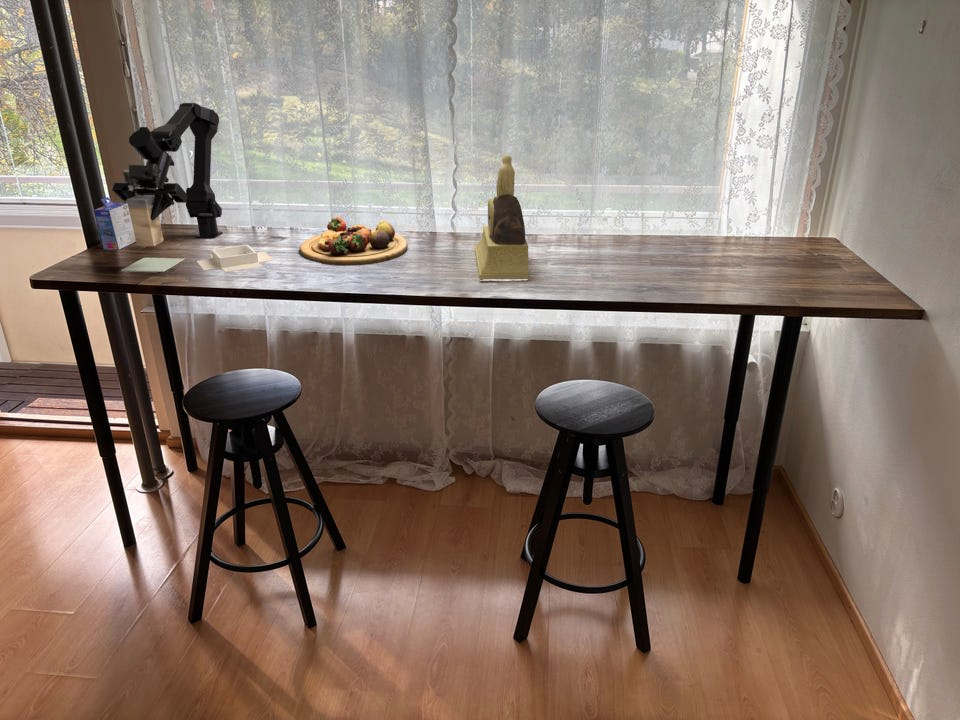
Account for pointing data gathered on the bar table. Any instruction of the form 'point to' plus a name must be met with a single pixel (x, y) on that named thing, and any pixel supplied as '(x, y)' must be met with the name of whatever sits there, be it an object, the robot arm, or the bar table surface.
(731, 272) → the bar table surface
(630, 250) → the bar table surface
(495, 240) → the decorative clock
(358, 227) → the wooden plate with food
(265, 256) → the carton
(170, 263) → the rubber pad
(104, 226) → the ink cartridge box
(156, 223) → the box
